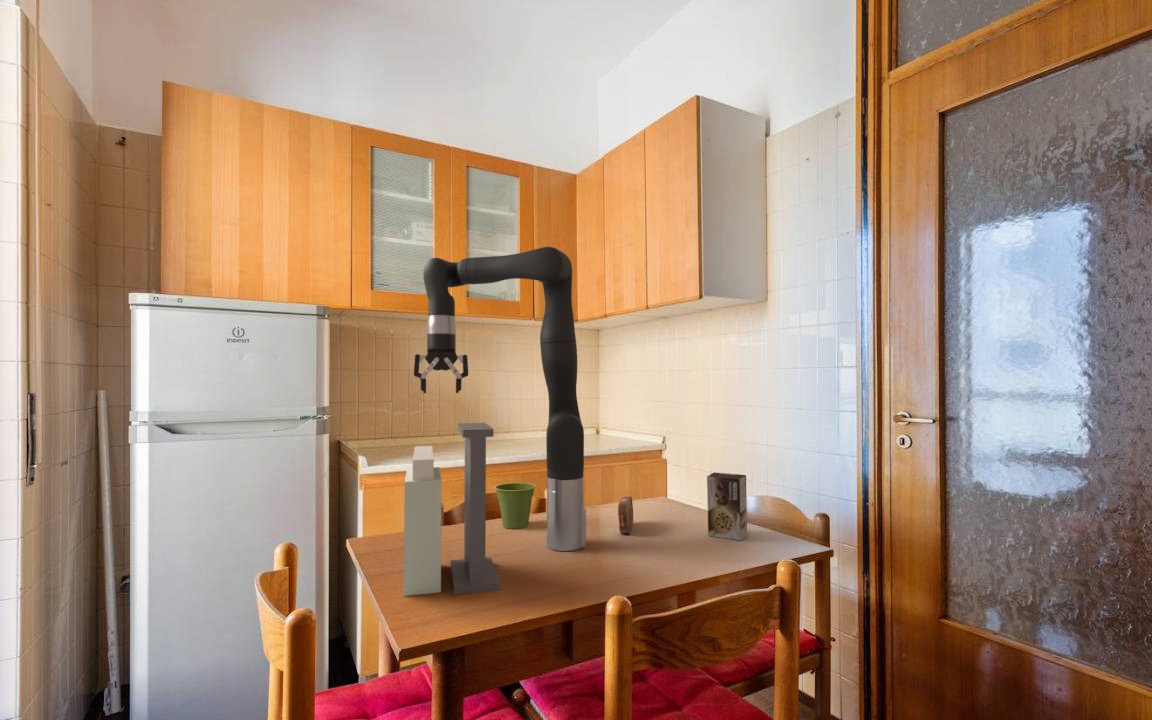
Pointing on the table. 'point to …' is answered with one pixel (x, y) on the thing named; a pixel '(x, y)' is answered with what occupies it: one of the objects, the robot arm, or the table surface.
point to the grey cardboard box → (727, 506)
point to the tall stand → (474, 517)
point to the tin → (625, 515)
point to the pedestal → (422, 534)
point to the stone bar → (423, 463)
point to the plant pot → (515, 503)
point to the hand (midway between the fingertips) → (441, 393)
